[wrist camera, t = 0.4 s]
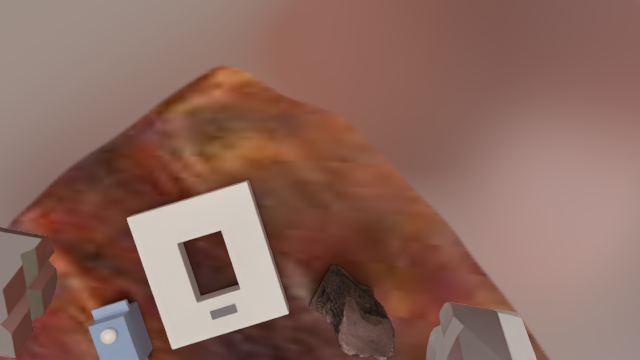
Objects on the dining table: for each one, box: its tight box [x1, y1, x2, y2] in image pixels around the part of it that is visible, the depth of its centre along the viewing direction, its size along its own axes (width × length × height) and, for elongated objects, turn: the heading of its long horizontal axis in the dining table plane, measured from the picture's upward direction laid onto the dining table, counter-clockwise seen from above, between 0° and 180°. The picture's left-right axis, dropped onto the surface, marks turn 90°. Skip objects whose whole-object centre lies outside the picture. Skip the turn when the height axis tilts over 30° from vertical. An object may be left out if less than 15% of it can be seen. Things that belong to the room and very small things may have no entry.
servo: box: [88, 299, 153, 360], centre depth 61 cm, size 8×4×6 cm, turn 17°
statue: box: [309, 264, 395, 360], centre depth 55 cm, size 7×7×20 cm
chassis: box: [127, 180, 289, 349], centre depth 62 cm, size 16×14×3 cm
